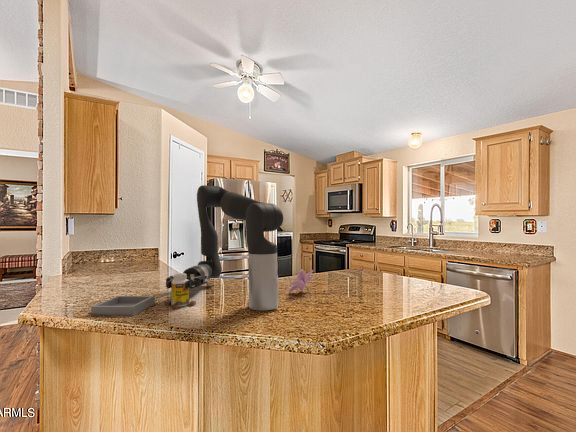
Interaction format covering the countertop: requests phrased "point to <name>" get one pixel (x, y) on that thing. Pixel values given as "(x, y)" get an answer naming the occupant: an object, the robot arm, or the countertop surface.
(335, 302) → the countertop surface
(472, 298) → the countertop surface
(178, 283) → the supplement bottle
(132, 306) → the tray
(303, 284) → the lily
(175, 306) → the set of brown cubes
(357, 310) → the countertop surface
